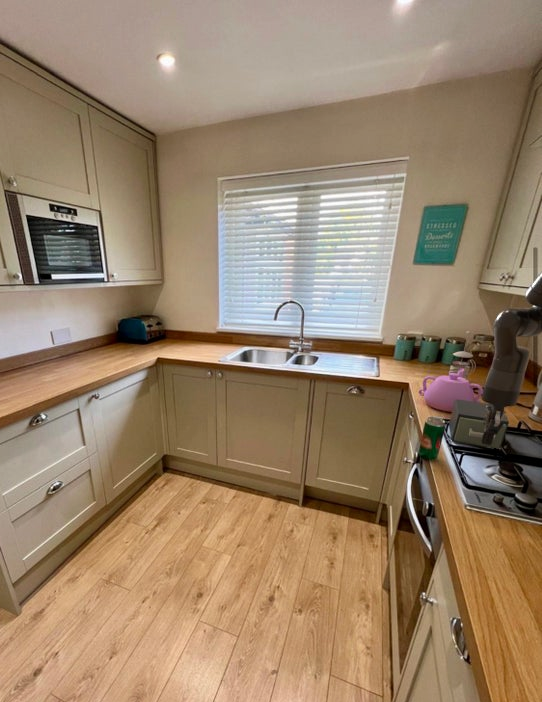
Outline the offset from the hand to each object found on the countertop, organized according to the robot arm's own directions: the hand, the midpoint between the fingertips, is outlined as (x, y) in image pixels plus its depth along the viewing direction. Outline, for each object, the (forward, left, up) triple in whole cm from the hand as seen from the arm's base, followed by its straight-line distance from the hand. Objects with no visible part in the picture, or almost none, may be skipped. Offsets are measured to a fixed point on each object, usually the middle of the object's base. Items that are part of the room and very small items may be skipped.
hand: (485, 443), depth 94 cm
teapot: (+6, -45, -6) cm, 46 cm away
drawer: (+1, -13, -4) cm, 13 cm away
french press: (+1, -82, -6) cm, 82 cm away
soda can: (+14, +5, -6) cm, 16 cm away
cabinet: (+1, -17, -5) cm, 17 cm away
